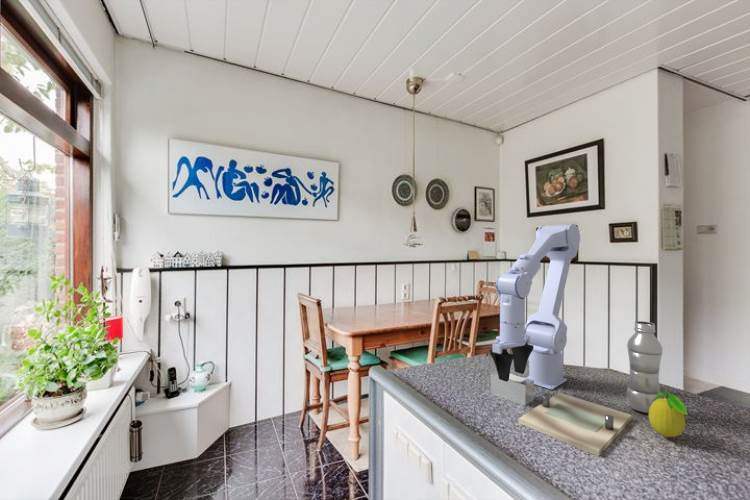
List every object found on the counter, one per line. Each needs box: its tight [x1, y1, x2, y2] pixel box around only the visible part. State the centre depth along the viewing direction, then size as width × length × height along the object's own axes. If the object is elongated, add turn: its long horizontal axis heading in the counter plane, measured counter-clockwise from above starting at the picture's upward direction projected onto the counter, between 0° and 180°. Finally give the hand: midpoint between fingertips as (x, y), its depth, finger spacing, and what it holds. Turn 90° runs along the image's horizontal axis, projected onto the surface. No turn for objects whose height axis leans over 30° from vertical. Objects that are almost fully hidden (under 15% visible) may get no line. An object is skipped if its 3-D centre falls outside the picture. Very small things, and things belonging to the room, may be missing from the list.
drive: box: [490, 371, 535, 406], centre depth 86 cm, size 4×9×5 cm, turn 40°
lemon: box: [648, 386, 689, 438], centre depth 68 cm, size 7×6×10 cm
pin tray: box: [518, 391, 633, 457], centre depth 74 cm, size 20×15×4 cm
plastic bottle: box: [625, 320, 663, 414], centre depth 79 cm, size 6×7×20 cm
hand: (511, 376), depth 86 cm, fingers open, 7 cm apart
